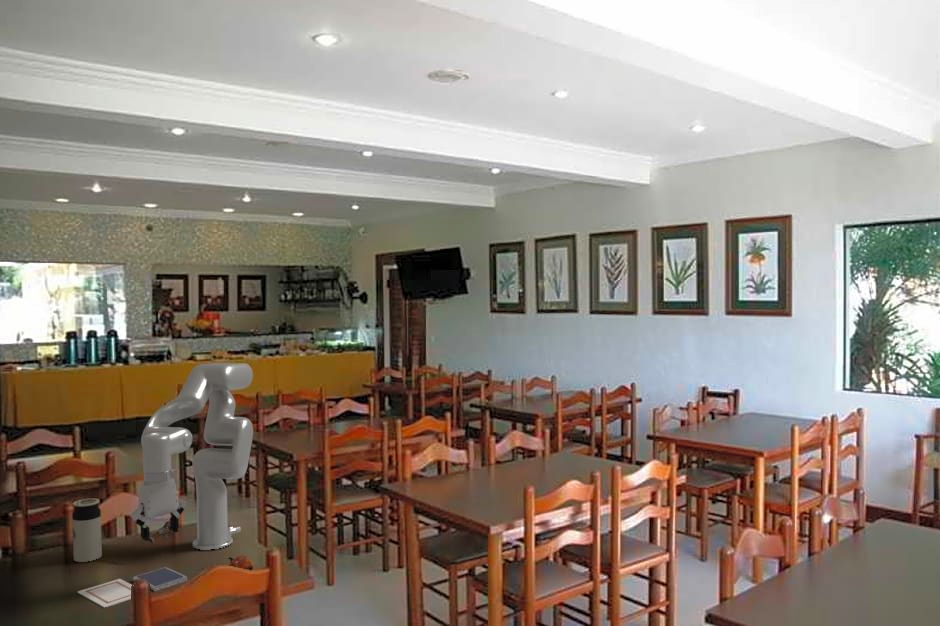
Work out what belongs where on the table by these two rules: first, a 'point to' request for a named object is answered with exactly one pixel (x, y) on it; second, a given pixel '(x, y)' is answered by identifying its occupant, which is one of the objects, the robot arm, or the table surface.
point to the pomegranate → (241, 562)
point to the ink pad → (162, 578)
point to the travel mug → (86, 530)
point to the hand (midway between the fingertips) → (160, 535)
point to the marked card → (108, 593)
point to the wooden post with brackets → (161, 532)
